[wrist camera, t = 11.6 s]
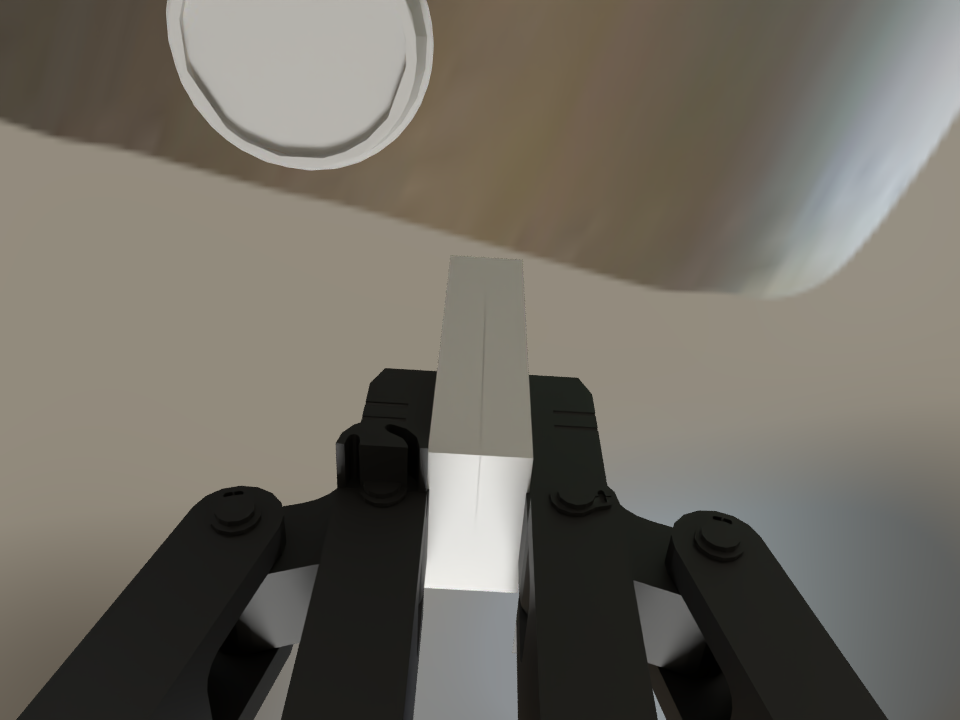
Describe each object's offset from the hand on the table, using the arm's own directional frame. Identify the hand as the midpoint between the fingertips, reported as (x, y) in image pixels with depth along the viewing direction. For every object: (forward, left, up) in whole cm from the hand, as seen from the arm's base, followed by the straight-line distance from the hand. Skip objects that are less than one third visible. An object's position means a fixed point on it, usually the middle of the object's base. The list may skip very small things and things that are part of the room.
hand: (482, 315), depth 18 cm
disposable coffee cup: (-6, -4, -27) cm, 28 cm away
